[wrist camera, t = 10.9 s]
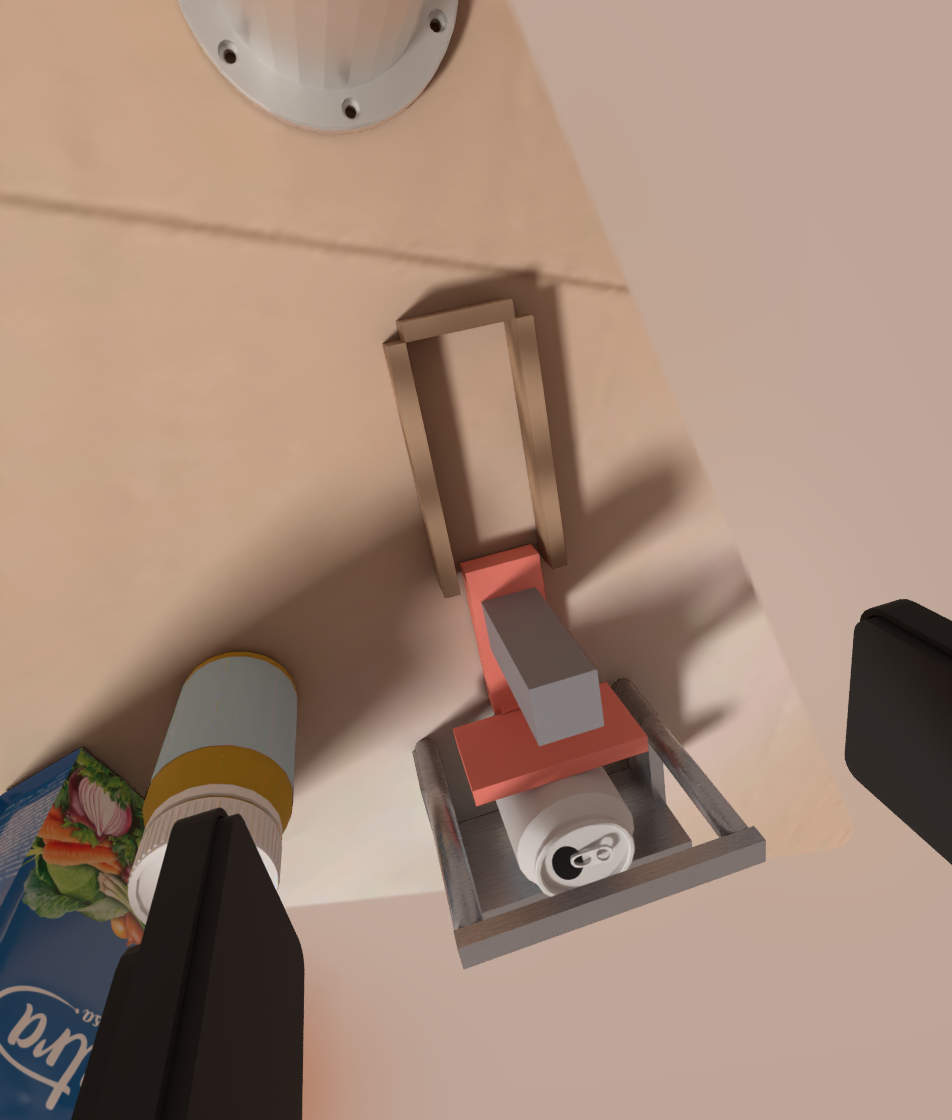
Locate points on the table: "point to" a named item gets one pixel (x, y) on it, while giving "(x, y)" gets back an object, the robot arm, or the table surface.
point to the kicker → (534, 687)
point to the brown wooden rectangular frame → (530, 418)
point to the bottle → (223, 762)
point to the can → (569, 831)
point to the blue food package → (61, 926)
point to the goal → (655, 872)
